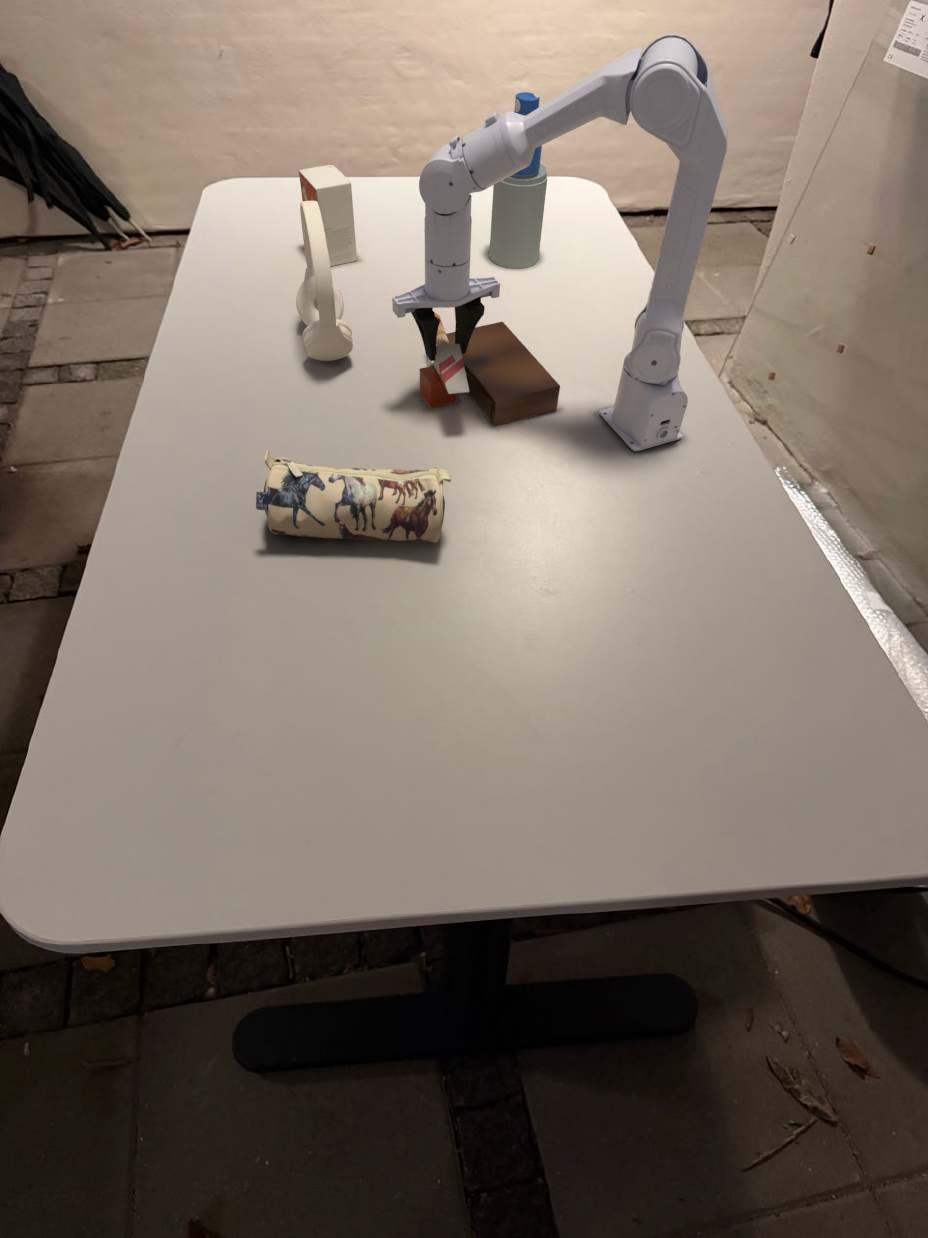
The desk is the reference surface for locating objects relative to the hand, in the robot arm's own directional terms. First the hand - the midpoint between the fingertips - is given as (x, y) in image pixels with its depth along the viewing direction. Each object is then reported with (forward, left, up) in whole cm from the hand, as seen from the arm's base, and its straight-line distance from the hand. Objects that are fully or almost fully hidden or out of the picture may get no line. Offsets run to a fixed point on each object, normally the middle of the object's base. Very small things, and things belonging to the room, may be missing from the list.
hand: (446, 353), depth 107 cm
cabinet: (-1, -8, -6) cm, 10 cm away
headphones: (+18, +12, -6) cm, 23 cm away
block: (-1, 0, -4) cm, 4 cm away
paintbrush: (0, 0, -2) cm, 2 cm away
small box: (+45, +2, -6) cm, 45 cm away
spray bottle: (+33, -28, -6) cm, 44 cm away
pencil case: (-22, +21, -6) cm, 31 cm away
